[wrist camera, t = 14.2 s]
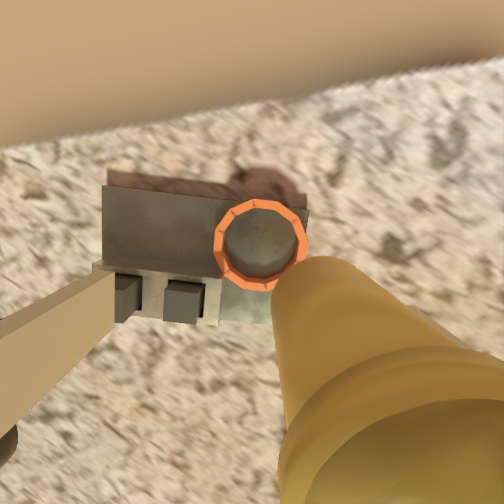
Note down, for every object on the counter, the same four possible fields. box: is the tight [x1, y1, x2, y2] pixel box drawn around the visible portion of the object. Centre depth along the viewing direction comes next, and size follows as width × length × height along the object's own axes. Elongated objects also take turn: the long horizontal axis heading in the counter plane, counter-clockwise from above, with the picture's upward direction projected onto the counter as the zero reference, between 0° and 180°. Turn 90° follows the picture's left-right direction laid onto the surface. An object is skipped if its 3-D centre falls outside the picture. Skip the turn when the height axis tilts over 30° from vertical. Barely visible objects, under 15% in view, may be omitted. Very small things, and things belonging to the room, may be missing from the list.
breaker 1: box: [114, 273, 143, 324], centre depth 25 cm, size 3×3×4 cm
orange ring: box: [213, 198, 308, 292], centre depth 28 cm, size 9×9×2 cm
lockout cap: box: [270, 256, 504, 504], centre depth 10 cm, size 6×6×10 cm
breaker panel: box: [92, 185, 309, 326], centre depth 28 cm, size 21×13×5 cm, turn 83°
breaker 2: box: [163, 280, 206, 325], centre depth 27 cm, size 3×3×4 cm
